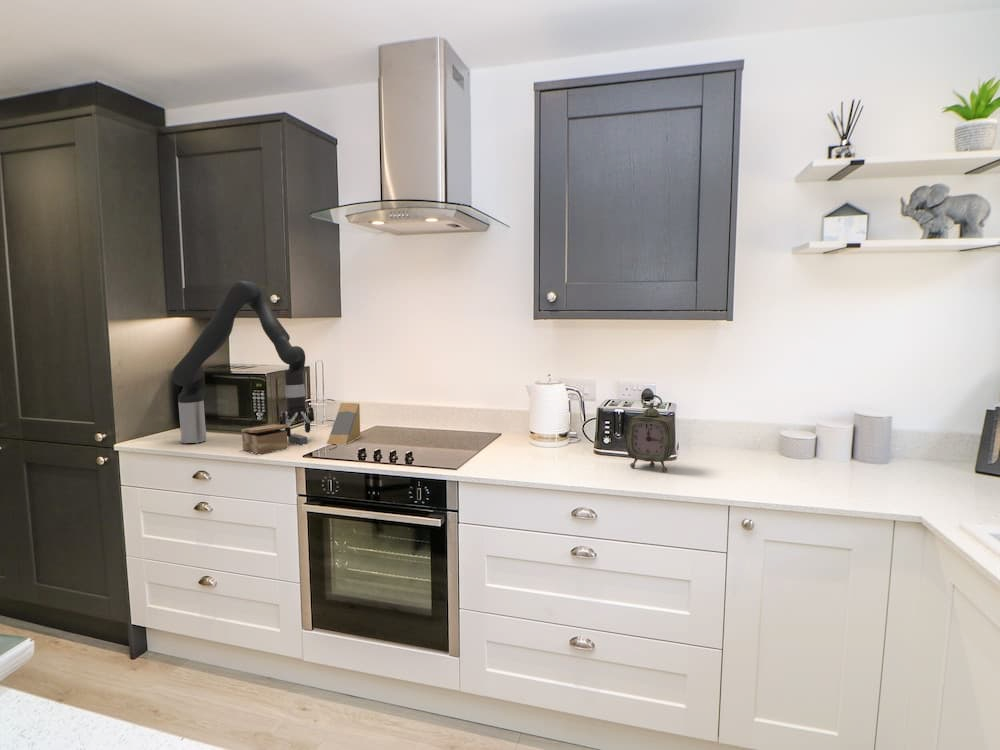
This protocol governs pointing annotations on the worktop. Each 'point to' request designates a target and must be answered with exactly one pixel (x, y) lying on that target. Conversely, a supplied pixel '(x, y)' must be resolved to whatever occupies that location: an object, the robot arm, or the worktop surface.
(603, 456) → the worktop surface
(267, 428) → the lid
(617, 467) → the worktop surface
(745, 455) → the worktop surface
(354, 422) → the sandwich container
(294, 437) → the gray rectangular block
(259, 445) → the carton
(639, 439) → the tabletop clock
